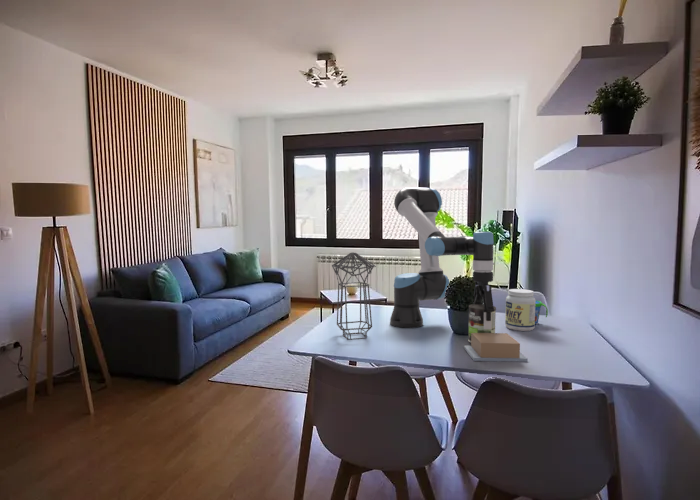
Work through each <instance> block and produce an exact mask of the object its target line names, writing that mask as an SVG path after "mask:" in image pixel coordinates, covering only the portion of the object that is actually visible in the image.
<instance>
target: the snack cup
mask: <svg viewBox="0 0 700 500" xmlns="http://www.w3.org/2000/svg"><path fill="white" fill-rule="evenodd" d="M535 301H536V302H535V325H537V324H538V323H539V318H540V314H541V307H545V311H546V312H545V318H547V317H548V314H549V313H548V312H549V310H548V307H547V305H546V304H545V303H543V302H542V301H540V300H537V299H535ZM536 323H537V324H536Z"/></svg>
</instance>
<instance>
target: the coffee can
mask: <svg viewBox="0 0 700 500" xmlns="http://www.w3.org/2000/svg"><path fill="white" fill-rule="evenodd" d="M493 307H494V311H492V329H484V312H483V310H485V309H484V304H483V303H482V304H474V303H472V304H468V330H467V331H468V332H467V334H468V337H467V341H468V342H469V343H470V344H471V333H496V316H497V315H496V311H497V307H496V306H495V305H493Z"/></svg>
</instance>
